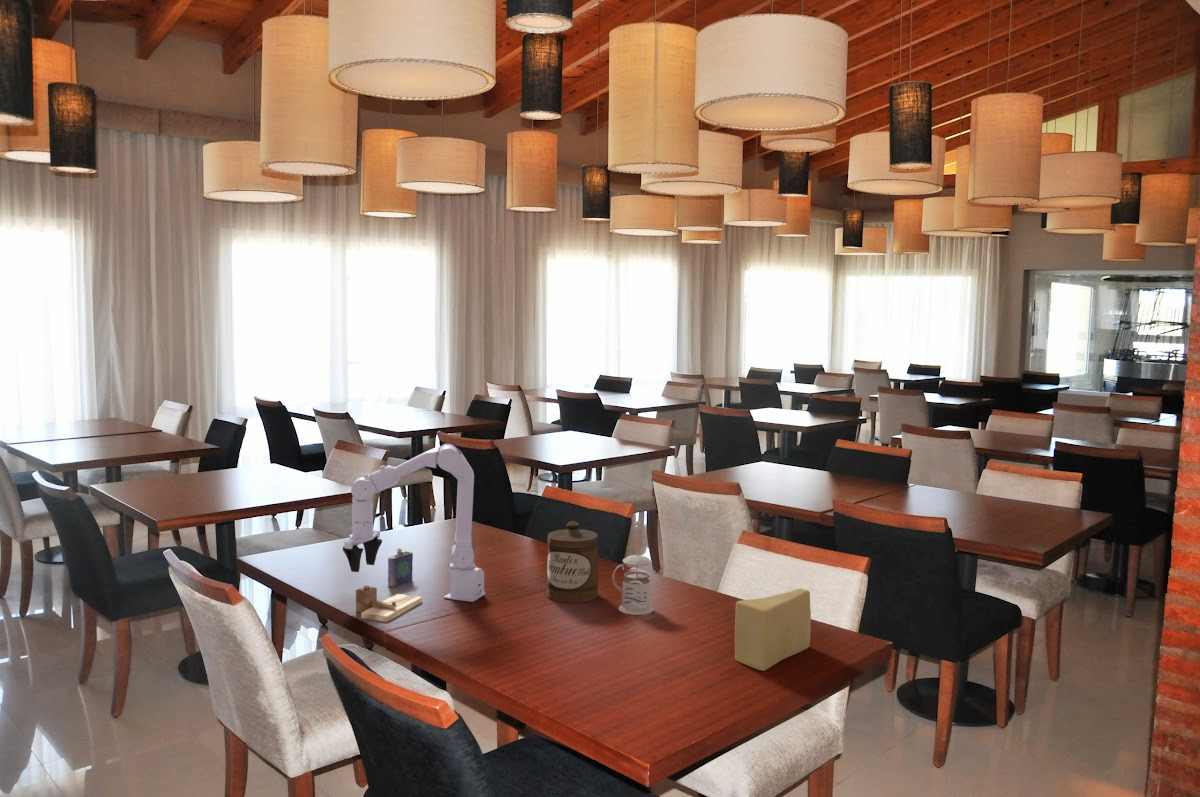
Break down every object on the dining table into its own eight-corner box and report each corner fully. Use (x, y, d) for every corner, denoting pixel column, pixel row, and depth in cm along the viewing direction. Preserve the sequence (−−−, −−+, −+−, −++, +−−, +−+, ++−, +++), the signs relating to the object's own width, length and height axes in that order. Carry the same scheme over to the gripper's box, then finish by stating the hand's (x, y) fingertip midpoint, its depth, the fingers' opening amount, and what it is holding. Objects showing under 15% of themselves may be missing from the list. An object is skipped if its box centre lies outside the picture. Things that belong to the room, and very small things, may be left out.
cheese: (792, 641, 236) (794, 583, 234) (823, 652, 228) (825, 592, 227) (732, 660, 222) (734, 599, 221) (763, 673, 214) (765, 609, 213)
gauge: (399, 612, 253) (398, 587, 252) (391, 616, 249) (390, 592, 248) (364, 607, 256) (364, 583, 256) (355, 611, 253) (355, 587, 252)
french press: (650, 616, 253) (652, 526, 251) (609, 612, 255) (610, 523, 253) (655, 605, 263) (657, 518, 260) (615, 601, 265) (617, 515, 263)
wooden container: (539, 600, 265) (540, 524, 263) (557, 585, 280) (557, 514, 277) (588, 605, 261) (589, 529, 259) (604, 591, 275) (605, 518, 273)
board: (422, 602, 262) (422, 596, 262) (387, 621, 245) (387, 616, 245) (397, 598, 264) (397, 593, 264) (361, 618, 247) (361, 612, 247)
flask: (392, 588, 274) (391, 552, 273) (385, 586, 276) (384, 551, 275) (414, 581, 282) (414, 546, 281) (407, 579, 283) (407, 545, 283)
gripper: (364, 514, 268) (365, 560, 269) (334, 524, 255) (335, 573, 256) (386, 516, 266) (386, 562, 267) (356, 527, 252) (357, 575, 254)
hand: (362, 568), depth 261 cm, fingers open, 7 cm apart
